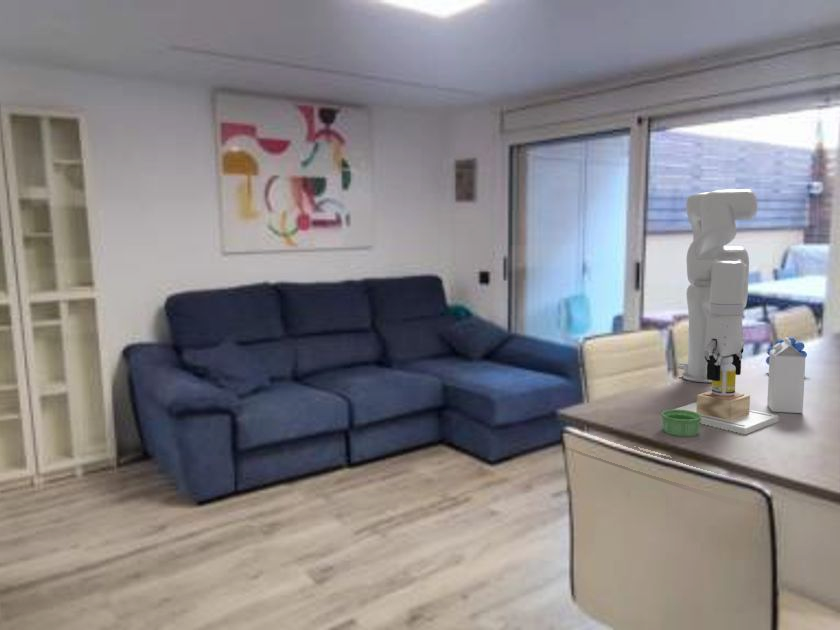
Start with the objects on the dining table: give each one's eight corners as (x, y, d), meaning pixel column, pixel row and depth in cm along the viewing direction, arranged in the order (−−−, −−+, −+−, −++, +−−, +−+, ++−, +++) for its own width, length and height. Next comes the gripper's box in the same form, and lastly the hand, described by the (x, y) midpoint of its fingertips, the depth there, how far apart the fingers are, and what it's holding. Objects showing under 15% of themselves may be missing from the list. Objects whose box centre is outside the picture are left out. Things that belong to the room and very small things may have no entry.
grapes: (805, 372, 212) (807, 336, 210) (806, 376, 206) (807, 339, 204) (765, 369, 218) (767, 334, 216) (765, 373, 212) (766, 337, 210)
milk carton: (796, 406, 172) (800, 337, 170) (802, 414, 166) (806, 341, 163) (767, 405, 175) (770, 336, 172) (772, 412, 168) (775, 341, 166)
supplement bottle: (734, 392, 164) (736, 354, 163) (735, 397, 159) (736, 358, 158) (711, 390, 166) (712, 353, 165) (711, 395, 162) (712, 357, 160)
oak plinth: (696, 412, 164) (696, 393, 164) (715, 406, 170) (715, 388, 169) (730, 420, 157) (731, 400, 156) (749, 413, 162) (750, 394, 162)
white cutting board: (669, 416, 167) (669, 410, 167) (703, 405, 176) (703, 399, 176) (745, 434, 151) (745, 428, 151) (778, 421, 160) (778, 415, 160)
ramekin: (697, 440, 148) (698, 421, 148) (657, 434, 153) (657, 416, 153) (703, 429, 156) (704, 412, 155) (665, 424, 161) (665, 407, 160)
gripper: (729, 305, 168) (727, 369, 170) (692, 312, 158) (690, 380, 160) (758, 308, 162) (756, 374, 164) (722, 315, 152) (719, 385, 154)
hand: (723, 377), depth 162 cm, fingers open, 9 cm apart
